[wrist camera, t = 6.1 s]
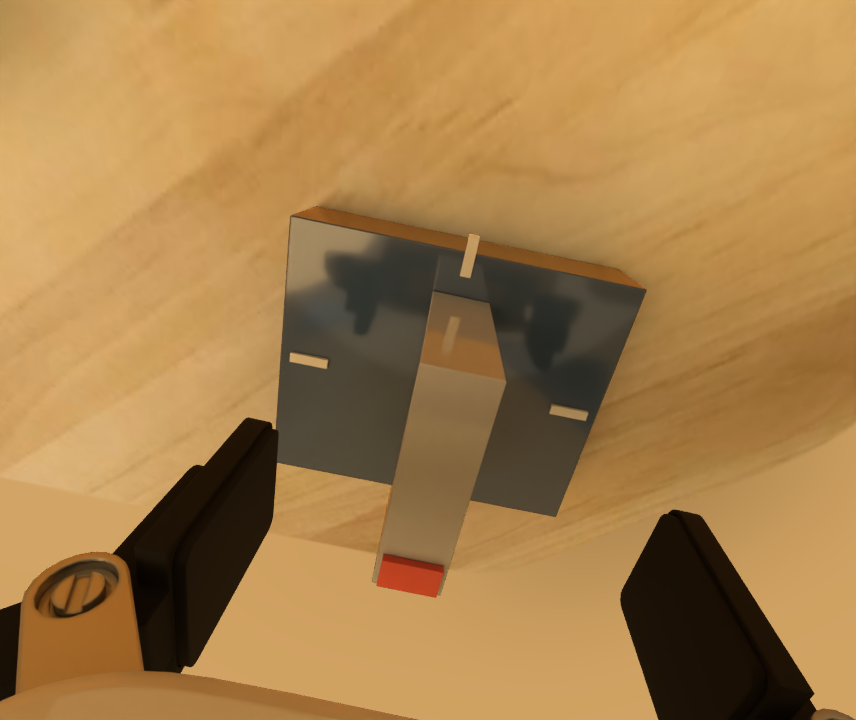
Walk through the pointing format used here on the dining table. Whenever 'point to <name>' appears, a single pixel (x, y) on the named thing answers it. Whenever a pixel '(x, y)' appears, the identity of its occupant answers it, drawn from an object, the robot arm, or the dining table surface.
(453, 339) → the tap handle
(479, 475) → the rotary switch base
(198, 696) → the robot arm
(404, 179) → the dining table surface
